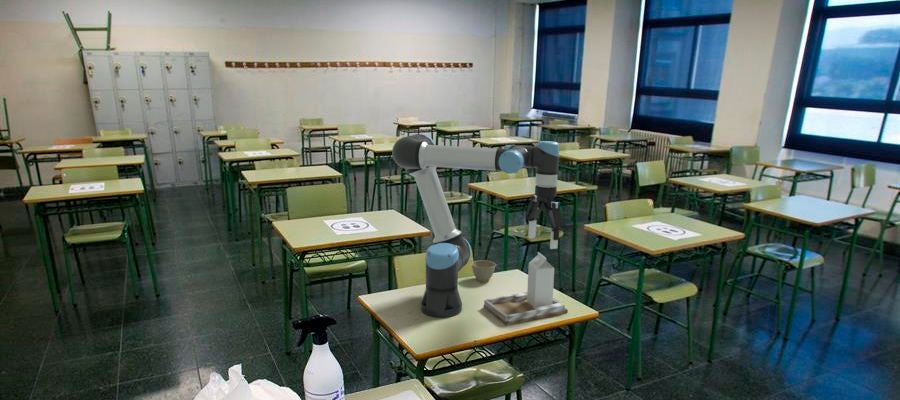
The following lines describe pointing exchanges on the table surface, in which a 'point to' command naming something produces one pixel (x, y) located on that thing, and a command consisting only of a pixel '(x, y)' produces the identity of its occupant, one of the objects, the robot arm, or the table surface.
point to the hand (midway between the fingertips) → (542, 243)
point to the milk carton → (540, 282)
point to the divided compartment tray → (520, 309)
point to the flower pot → (483, 270)
